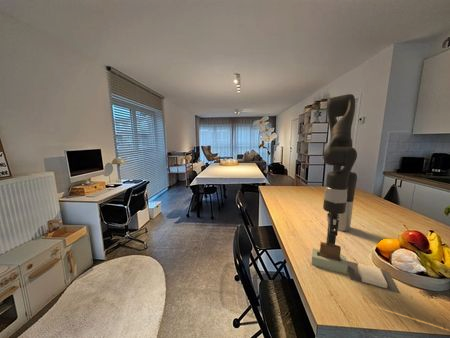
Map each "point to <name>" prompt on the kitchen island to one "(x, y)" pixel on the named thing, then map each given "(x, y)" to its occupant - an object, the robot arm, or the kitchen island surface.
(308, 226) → the kitchen island surface
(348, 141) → the robot arm
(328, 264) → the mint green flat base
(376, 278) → the tile
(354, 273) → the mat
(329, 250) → the brown wooden block
